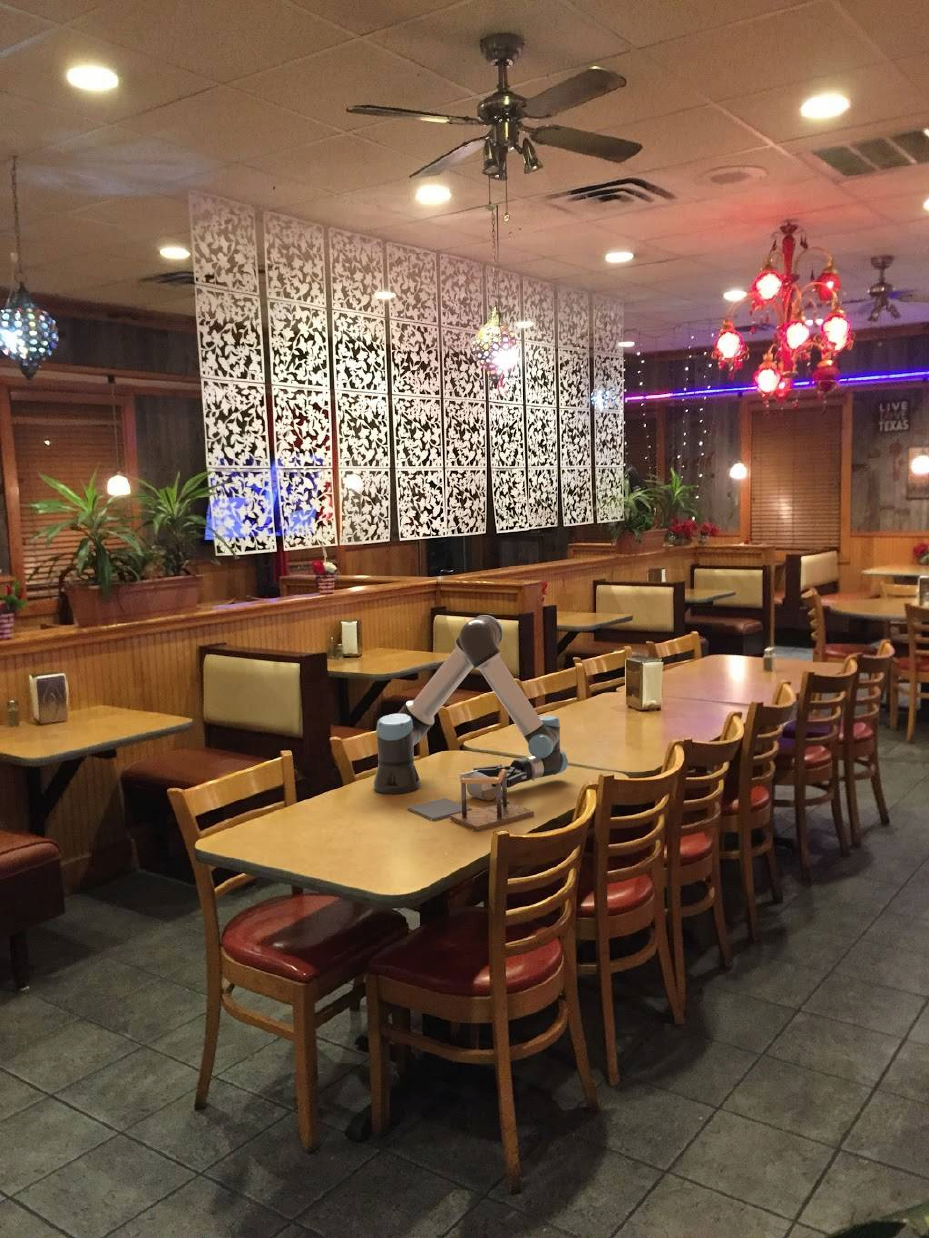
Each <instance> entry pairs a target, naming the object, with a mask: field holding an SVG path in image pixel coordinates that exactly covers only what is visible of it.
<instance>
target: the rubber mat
mask: <svg viewBox="0 0 929 1238" xmlns="http://www.w3.org/2000/svg"><path fill="white" fill-rule="evenodd" d="M410 810H411V811H410ZM470 810H473V808H471V807H469V806H467V811H470ZM407 811H410V812H412V811H413V812H412V813H414V812H415V814H416V813H417V815H419V816H421V817H424V818H426V819H428V820H430V819H432V820H435V821H437V820H436V819H439V820H443V819H447V818H450V815H454V814H458V813H462V803H459V802H458V801H454V800H451V799H449V798H446V797H443V798H439V799H437V800H432V801H427V802H423V803H419V804H414V805H411V806H407ZM432 820H431V821H432Z"/></svg>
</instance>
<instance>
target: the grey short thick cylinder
mask: <svg viewBox="0 0 929 1238" xmlns="http://www.w3.org/2000/svg"><path fill="white" fill-rule="evenodd" d="M469 778H487V779H494V777H488V776H486V775H484V774H482V773H479V772H477V773H474V774H472V775H471V776H470V777H469ZM466 792H467V793H468V794H469V795H470V796H471V797H474V798H476V799H480V800H482V801H485V800H486V801H488V802H490V801H493V800H494V799H496V798H497V796H496V788H493V789H489V790H485V791H483V790H482V784H466ZM501 797H502V789H501Z"/></svg>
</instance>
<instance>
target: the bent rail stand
mask: <svg viewBox="0 0 929 1238" xmlns="http://www.w3.org/2000/svg"><path fill="white" fill-rule="evenodd" d="M506 772H507V771H506V769H502V770H501V772H500V773H499V775H498V777H496V778H497V779H495V778H493V779H487V778H462V779H461V782H460V785H461V786H460V790H461V791H460V792H461V795H460V796H461V804H462V813H458V814H454V815H450V817H449V820H452V821H451V822H453V821H454V822H453V823H456V824H458V825H460V826H463V827H465V828H468V829H469V830H471V829H473V830H472V831H474V830H475V831H474V832H476V831H478V832H480V830H481V831H484V830H483V829H485V830H487V829H493V828H496V827H500V826H502V825H503V826H504V825H506V824H510V823H514V822H517V821H522V820H524V819H528V818H532V817H534V816H535V811H534V810H532V809H529V808H526V807H524V806H520V805H518V804H515V803H512V802H510V801H508V788H507V778H506ZM501 782H502V787H501ZM467 784H496V803H494V804H490V805H486V806H481V807H478V808H473V809H472V810H470V811H467V807H468V806H467V804H468V803H467ZM501 790H502V796H501Z"/></svg>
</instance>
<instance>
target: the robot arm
mask: <svg viewBox="0 0 929 1238" xmlns="http://www.w3.org/2000/svg"><path fill="white" fill-rule="evenodd" d="M503 634H504V632H503V627H502V625H501V623H500V622H499V621H498V620H497V619H496V618H495V617H494V616H491V615H486V614H485V615H484V614H483V615H478V616H476V617H474V618H472V620H469V621H467V622H466V623H465V624H464V625H463V626H462V628H461V629H460V631H459V635H458V637H456V639H455V641H454V644H455V648H454V649H453V650H452V652H451V653H450V654H449V656H448V657H447V658H446V659H445V660H444V662H443V663H442V664H441V665H440V667H439V668H438V669H437V670H436V672H435V673H434V674H433V676H432V677H431V678H430V679H429V681H428V682H427V683H426V685H424V687H423V688H422V689H421V690H420V692H419V693H418V695H416V697H415V698H414V699H413V700H408V701H406V702H405V703H404V705H403V706H402V707H401V709H400V710H399V711H397V713H391V714H388V715H383V716H382V717H380V718H379V719H378V720H377V723H376V730H375V731H376V743H377V761H378V764H377V765H378V766H377V770H376V773H375V777H374V781H373V789H374V790H375V791H376V792H378V793H381V794H389V795H390V794H391V795H399V794H407V793H412V792H414V791H417V790H419V788H420V787H421V783H420V782H421V780H420V777H419V774H418V771H417V769H416V764H415V760H414V759H415V756H414V746H416V745H417V744H418V743H419V742H420V741H422V740H423V739H424V738H425V737H426V735H427V733H428V731H429V730H430V728H431V727H433V725H434V723H435V715H436V714H437V713H438V712H439V710H440V709H441V708H442V706H443V705H444V704H445V702H446V701H448V699H450V696H451V695H453V693H454V692H455V690H456V689H457V688H458V687H459V685H460V684H461V683H462V682H463V681H464V679H465V678H466V677H467V675H468V674H469V673H470V672H471V671H472V670H473V668H474V670H478V671H480V673H481V675H482V676H483V677H484V678H485V680H486V682H487V683H488V685H489V687H490V688H491V689H492V691H493V692H494V693H495V695H496V697H497V698H498V700H499V701H500V703H501V704H502V706H503V707H504V709H505V710H506V712H507V713H508V715H509V717H510V718H511V719H512V721H513V722H514V723H513V724H515V725H516V727H517V730H519V732H520V733H521V735H522V736H523V738H524V740H525V741H526V743H527V744H528V745H527V747H528V748H527V749H528V752H529V754H531V755H529V756H525V757H522V758H517V759H513V761H511V763H510V764H509V765H504V766H503V765H502V764H495V765H488V766H478V767H473V770H471V771H467V772H463V773H460V774H459V782H460V783H461V779H462V778H469V777H470V776H471V775H472V774H474V773H477V772H479V773H482V774H484V775H486V776H488V777H491V778H494V779H497V777H498V775H499V774H500V772H501V770H502V769H506V771H507V772H506V778H507V789H509V788H512V787H513V786H515V785H517V784H521V783H525V782H529V781H533V782H535V780H536V779H541V778H546V777H549V776H555V775H558V774H561V773H563V772H566V770H567V768H568V766H569V759H568V758H567V753H566V752H565V751H564V750H561V730H560V729H561V724H560V718H559V717H557V716H554V715H542V716H539V714H538V713H537V712H536V710H535V708H534V707H533V705H532V704H531V702H530V701H529V699H528V698H527V696H526V695H525V693H524V692H523V690H522V689H521V687H520V686H519V684H518V683H517V681H516V680H515V678H514V676H513V675H512V673H511V672H510V670H509V669H508V667H507V665H506V664H505V663H504V661H503V660H502V658H501V653H502V652H501V651H500V649H499V647H498V646H499V645H500V644H501V642H502V639H503V637H504V635H503ZM495 777H496V778H495ZM493 788H496V784H482V790H483V791H485V790H489V789H493ZM501 788H502V782H501Z"/></svg>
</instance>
